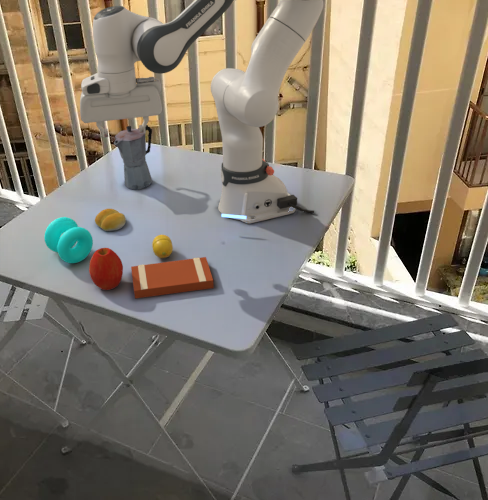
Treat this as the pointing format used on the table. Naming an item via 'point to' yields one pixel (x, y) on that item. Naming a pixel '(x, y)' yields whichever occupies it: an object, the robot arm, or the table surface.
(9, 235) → the table surface
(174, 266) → the tea towel
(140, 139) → the moka pot
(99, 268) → the apple
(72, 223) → the donuts
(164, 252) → the lemon
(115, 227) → the bread roll
